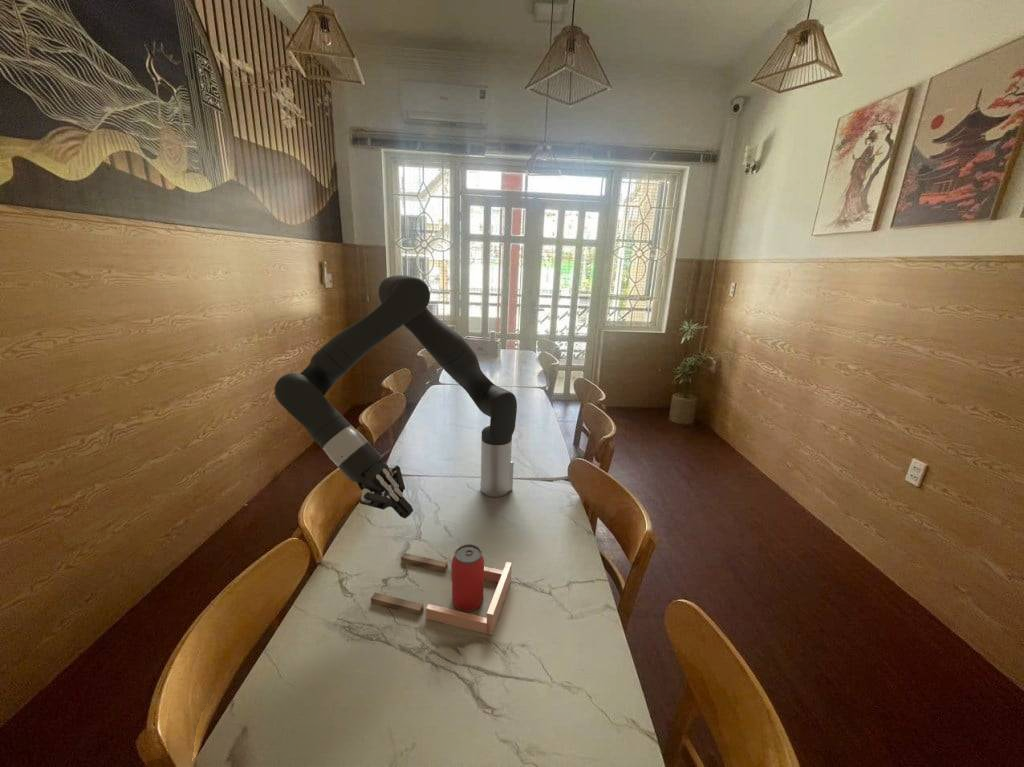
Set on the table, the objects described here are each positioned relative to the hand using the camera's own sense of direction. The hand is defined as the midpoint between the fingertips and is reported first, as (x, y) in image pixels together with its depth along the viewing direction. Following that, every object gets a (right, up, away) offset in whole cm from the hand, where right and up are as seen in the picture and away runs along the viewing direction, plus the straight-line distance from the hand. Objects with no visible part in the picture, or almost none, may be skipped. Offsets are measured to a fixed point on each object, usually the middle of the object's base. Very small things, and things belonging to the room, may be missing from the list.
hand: (409, 514), depth 85 cm
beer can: (+12, -19, +2) cm, 22 cm away
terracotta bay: (+12, -19, +2) cm, 22 cm away
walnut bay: (-1, -17, +5) cm, 18 cm away
